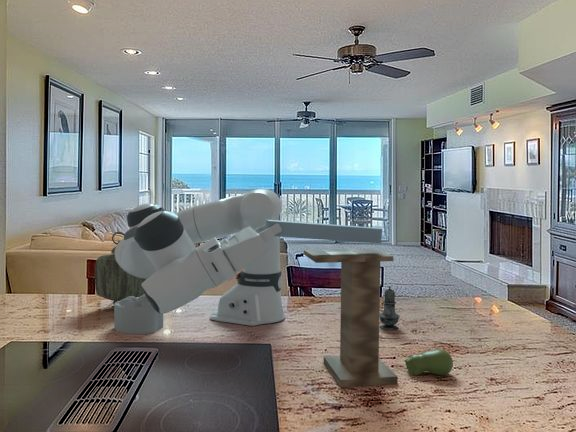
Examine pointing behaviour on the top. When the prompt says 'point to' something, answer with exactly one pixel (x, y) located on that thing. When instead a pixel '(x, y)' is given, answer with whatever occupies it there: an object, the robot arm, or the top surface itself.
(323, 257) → the shelf stand
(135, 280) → the tabletop clock
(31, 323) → the top surface
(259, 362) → the top surface
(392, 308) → the dark chess piece
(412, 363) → the pear
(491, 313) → the top surface
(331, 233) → the batten
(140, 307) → the lumpy-topped squat cylinder
